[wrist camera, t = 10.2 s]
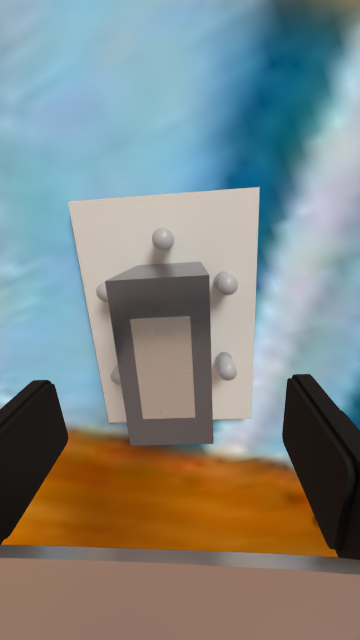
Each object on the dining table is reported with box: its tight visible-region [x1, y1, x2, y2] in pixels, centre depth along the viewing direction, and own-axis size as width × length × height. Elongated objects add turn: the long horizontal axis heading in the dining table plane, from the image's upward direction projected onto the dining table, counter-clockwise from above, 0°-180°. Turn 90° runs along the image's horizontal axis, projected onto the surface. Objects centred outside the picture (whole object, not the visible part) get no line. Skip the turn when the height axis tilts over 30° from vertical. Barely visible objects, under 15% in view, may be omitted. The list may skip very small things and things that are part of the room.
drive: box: [105, 261, 213, 446], centre depth 17 cm, size 5×10×8 cm, turn 3°
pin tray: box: [68, 187, 259, 423], centre depth 20 cm, size 14×20×4 cm
